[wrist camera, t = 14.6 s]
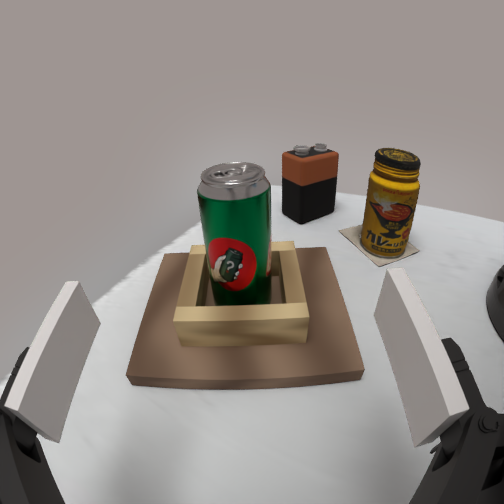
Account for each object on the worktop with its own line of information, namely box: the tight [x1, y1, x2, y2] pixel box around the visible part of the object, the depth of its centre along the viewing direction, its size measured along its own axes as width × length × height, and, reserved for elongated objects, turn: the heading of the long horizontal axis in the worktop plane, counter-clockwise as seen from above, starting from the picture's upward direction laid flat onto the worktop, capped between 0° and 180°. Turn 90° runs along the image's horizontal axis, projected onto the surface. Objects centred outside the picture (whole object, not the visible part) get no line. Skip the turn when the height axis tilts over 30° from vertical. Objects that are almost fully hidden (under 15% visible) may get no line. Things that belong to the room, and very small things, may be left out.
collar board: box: [126, 241, 365, 389], centre depth 27 cm, size 18×16×4 cm
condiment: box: [339, 148, 420, 266], centre depth 33 cm, size 7×8×12 cm
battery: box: [282, 143, 339, 224], centre depth 40 cm, size 4×7×10 cm, turn 123°
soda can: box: [197, 162, 272, 306], centre depth 24 cm, size 5×5×12 cm
